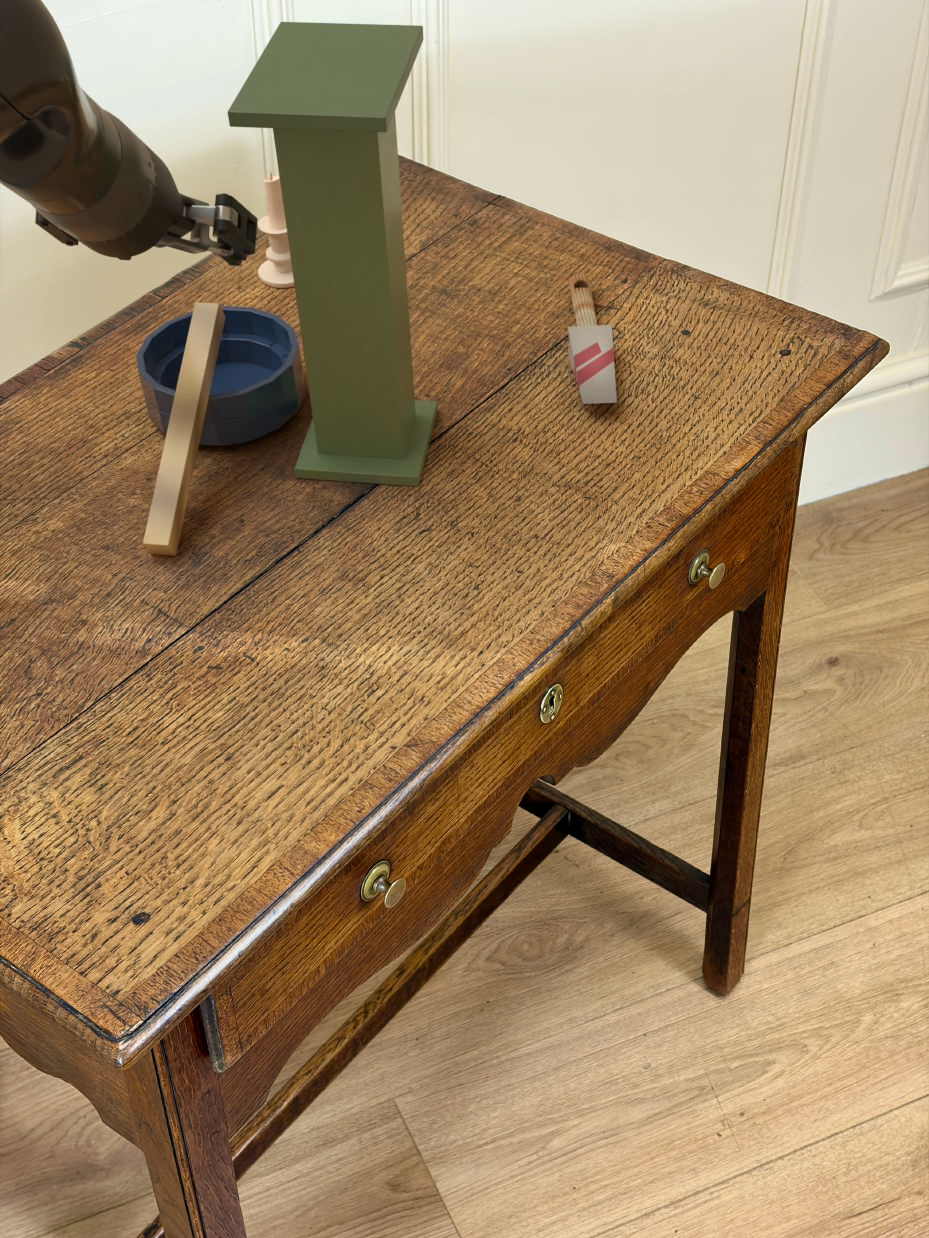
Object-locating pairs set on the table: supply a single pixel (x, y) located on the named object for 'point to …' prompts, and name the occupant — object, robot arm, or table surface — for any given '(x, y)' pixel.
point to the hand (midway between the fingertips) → (182, 249)
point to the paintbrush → (590, 347)
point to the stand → (346, 240)
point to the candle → (275, 239)
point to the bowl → (229, 375)
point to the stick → (184, 430)
